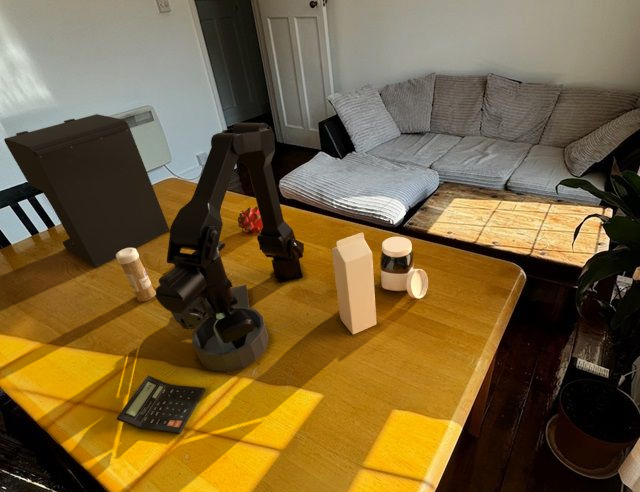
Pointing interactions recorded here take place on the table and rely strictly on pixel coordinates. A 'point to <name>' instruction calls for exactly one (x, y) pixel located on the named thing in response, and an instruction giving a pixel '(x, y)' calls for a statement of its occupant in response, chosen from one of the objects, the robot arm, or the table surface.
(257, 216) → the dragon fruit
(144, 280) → the sprinkles bottle
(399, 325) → the table surface
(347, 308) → the milk
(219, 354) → the bottle warmer
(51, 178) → the dark brown slanted box
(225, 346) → the bottle
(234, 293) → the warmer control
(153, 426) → the calculator
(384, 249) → the spread jar
